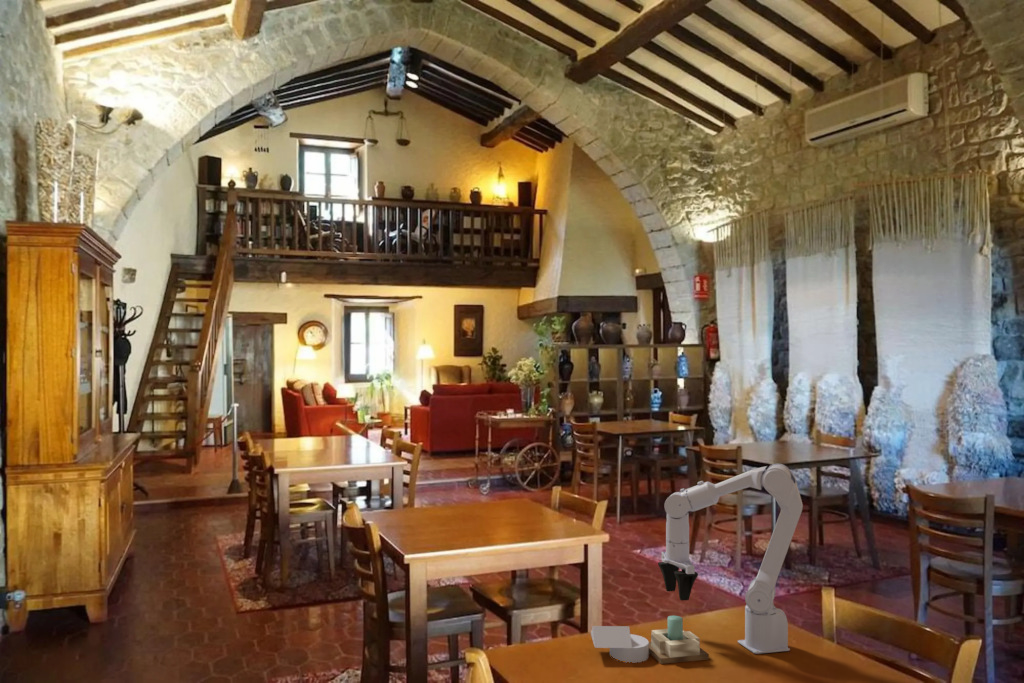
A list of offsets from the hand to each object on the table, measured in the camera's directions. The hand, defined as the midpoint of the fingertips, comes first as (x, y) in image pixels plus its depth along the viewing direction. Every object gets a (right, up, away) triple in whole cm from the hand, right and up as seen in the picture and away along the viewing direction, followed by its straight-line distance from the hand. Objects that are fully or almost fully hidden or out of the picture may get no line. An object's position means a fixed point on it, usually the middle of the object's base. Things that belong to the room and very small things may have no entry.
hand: (677, 595), depth 192 cm
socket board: (-3, -10, -12) cm, 16 cm away
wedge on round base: (-16, -10, -14) cm, 23 cm away
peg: (-3, -8, -12) cm, 15 cm away
